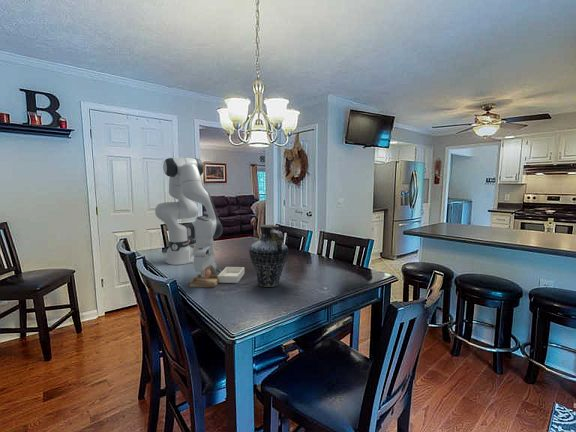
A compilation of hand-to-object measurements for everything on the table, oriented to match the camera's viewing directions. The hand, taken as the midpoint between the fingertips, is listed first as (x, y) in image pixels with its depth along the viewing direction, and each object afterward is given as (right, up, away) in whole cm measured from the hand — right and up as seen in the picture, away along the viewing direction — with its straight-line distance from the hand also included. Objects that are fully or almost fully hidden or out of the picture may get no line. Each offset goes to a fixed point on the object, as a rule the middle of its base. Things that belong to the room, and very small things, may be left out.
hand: (205, 275), depth 152 cm
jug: (+33, -5, -2) cm, 33 cm away
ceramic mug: (-1, -3, +14) cm, 14 cm away
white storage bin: (+12, -3, +8) cm, 15 cm away
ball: (0, +1, 0) cm, 1 cm away
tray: (0, -4, 0) cm, 4 cm away
